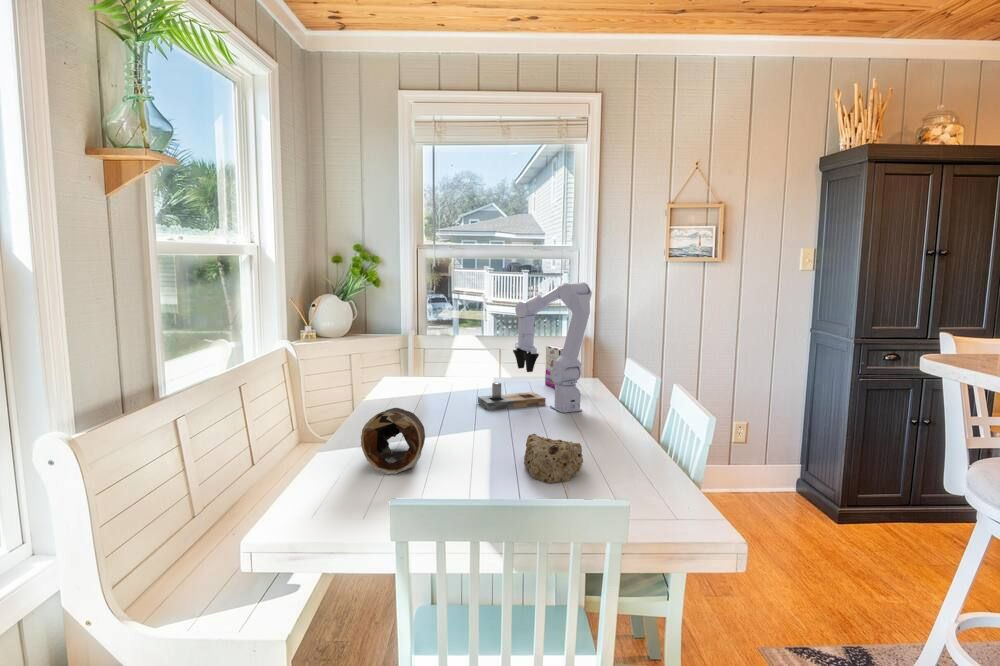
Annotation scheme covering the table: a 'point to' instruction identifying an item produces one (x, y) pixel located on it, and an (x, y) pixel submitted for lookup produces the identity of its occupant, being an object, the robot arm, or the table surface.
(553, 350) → the candy bar box
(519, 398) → the dock board
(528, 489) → the table surface
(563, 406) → the robot arm
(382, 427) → the hollow brown log
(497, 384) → the pin
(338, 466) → the table surface
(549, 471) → the rock
